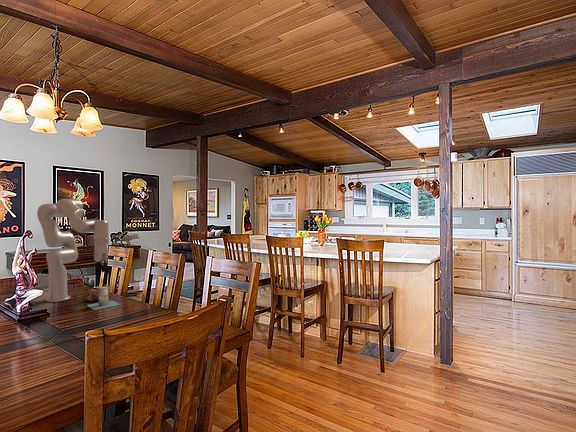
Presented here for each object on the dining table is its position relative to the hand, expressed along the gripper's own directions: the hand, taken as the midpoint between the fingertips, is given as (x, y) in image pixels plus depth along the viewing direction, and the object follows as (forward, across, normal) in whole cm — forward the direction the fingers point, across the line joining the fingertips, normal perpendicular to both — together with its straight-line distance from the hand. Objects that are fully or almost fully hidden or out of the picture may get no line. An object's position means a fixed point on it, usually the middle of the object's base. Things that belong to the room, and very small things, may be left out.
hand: (101, 270), depth 202 cm
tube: (+20, +1, 0) cm, 20 cm away
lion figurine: (+21, -16, +3) cm, 27 cm away
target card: (+20, 0, 0) cm, 20 cm away
